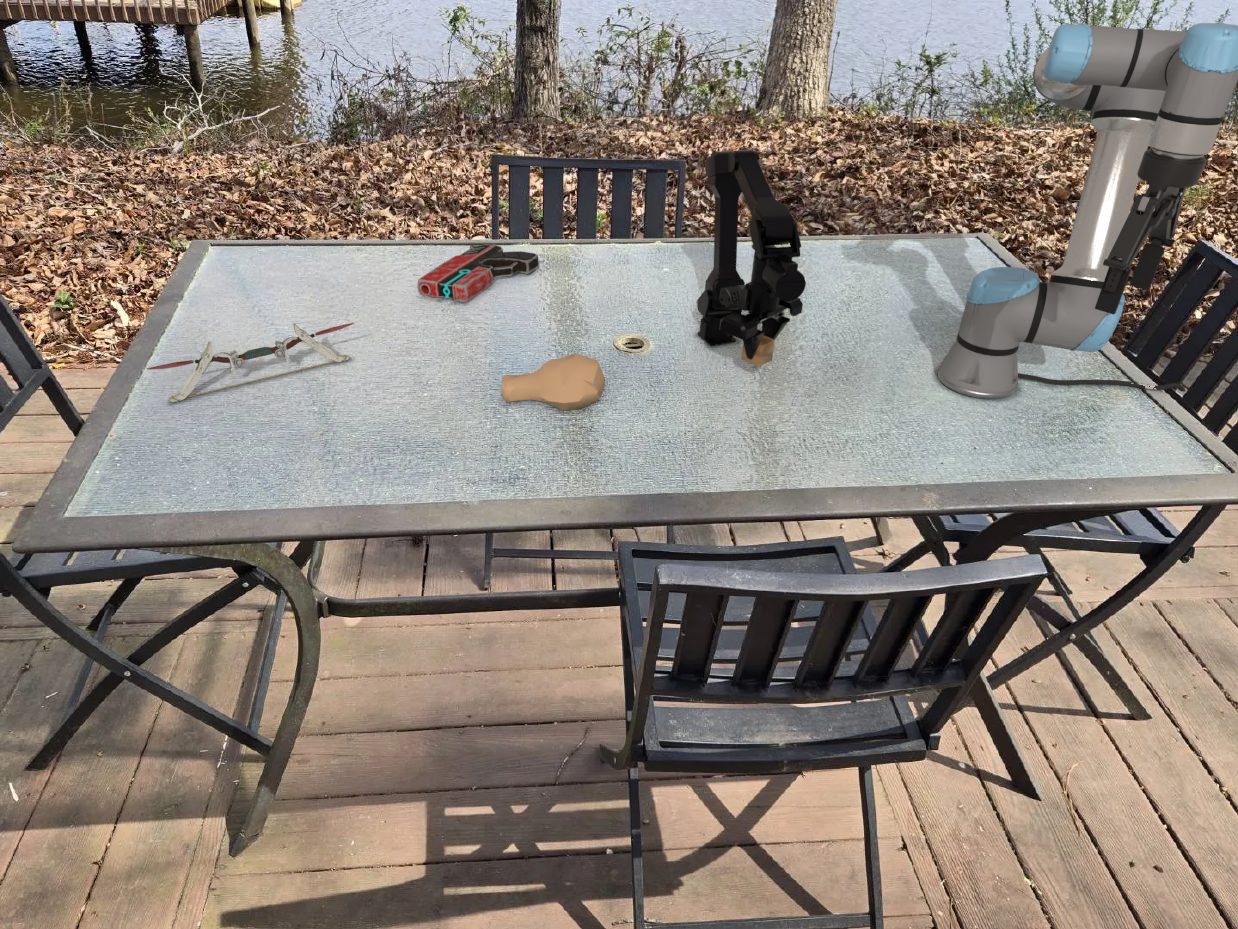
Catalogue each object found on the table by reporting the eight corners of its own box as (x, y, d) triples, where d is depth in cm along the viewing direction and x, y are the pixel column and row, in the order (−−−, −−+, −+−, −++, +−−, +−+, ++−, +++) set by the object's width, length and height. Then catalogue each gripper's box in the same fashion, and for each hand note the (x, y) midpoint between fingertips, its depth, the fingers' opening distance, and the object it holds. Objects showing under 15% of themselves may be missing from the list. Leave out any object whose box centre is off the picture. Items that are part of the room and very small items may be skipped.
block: (754, 352, 175) (757, 332, 173) (771, 360, 173) (774, 339, 170) (741, 359, 173) (743, 338, 170) (758, 366, 170) (761, 346, 168)
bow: (357, 354, 182) (350, 309, 176) (360, 358, 181) (353, 313, 175) (156, 402, 164) (141, 354, 158) (158, 406, 162) (143, 358, 157)
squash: (607, 416, 164) (601, 378, 158) (502, 424, 166) (492, 387, 160) (608, 380, 172) (602, 343, 166) (508, 388, 174) (499, 351, 167)
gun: (542, 248, 224) (475, 239, 230) (485, 289, 199) (411, 278, 205) (543, 265, 226) (476, 256, 232) (486, 308, 202) (414, 296, 207)
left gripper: (762, 255, 173) (753, 327, 182) (701, 279, 162) (694, 355, 171) (809, 272, 167) (797, 345, 176) (748, 298, 156) (739, 375, 165)
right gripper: (1178, 132, 128) (1128, 271, 140) (1112, 161, 113) (1062, 313, 125) (1235, 142, 124) (1178, 284, 136) (1174, 174, 109) (1116, 330, 121)
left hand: (756, 354), depth 172 cm, fingers closed on block, 4 cm apart
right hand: (1122, 298), depth 130 cm, fingers open, 13 cm apart
